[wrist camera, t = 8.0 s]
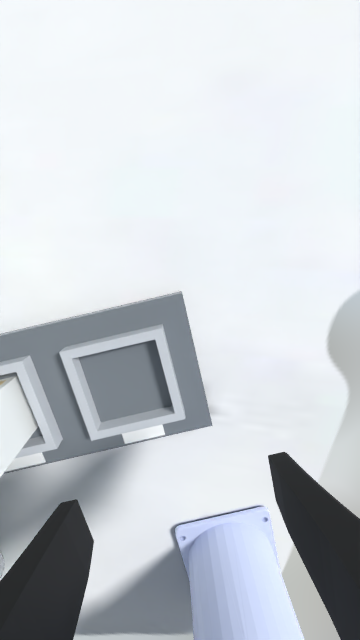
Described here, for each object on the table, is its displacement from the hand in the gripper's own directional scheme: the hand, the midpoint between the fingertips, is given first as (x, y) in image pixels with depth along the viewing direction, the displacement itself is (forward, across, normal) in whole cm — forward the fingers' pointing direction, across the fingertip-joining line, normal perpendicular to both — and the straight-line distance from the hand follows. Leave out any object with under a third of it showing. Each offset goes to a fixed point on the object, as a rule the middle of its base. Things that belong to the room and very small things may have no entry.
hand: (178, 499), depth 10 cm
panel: (+10, +8, -1) cm, 12 cm away
